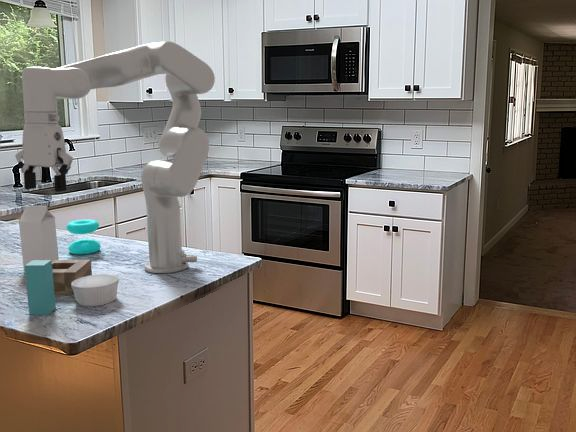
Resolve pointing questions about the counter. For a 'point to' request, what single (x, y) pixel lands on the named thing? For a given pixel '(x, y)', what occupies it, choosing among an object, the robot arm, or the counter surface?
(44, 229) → the milk carton
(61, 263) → the socket block
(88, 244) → the teal stacked rings
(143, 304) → the counter surface
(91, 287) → the ramekin
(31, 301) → the peg
